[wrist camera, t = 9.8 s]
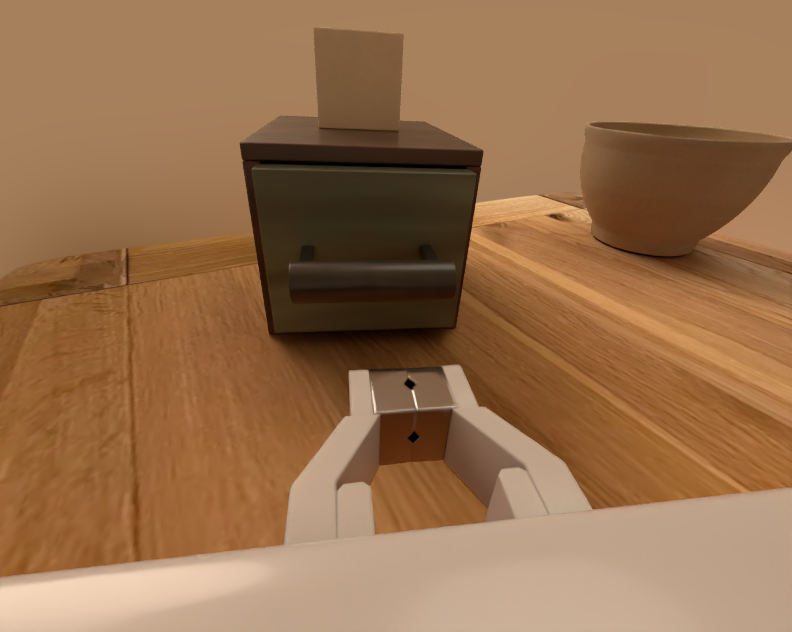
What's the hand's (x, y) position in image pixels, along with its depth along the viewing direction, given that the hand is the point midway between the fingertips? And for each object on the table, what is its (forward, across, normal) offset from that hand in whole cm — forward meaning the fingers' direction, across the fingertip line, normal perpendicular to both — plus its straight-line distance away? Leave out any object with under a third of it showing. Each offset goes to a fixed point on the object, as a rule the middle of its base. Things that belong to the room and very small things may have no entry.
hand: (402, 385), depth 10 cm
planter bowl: (+27, -30, +6) cm, 41 cm away
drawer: (+15, 0, +5) cm, 16 cm away
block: (+21, 0, -4) cm, 22 cm away
